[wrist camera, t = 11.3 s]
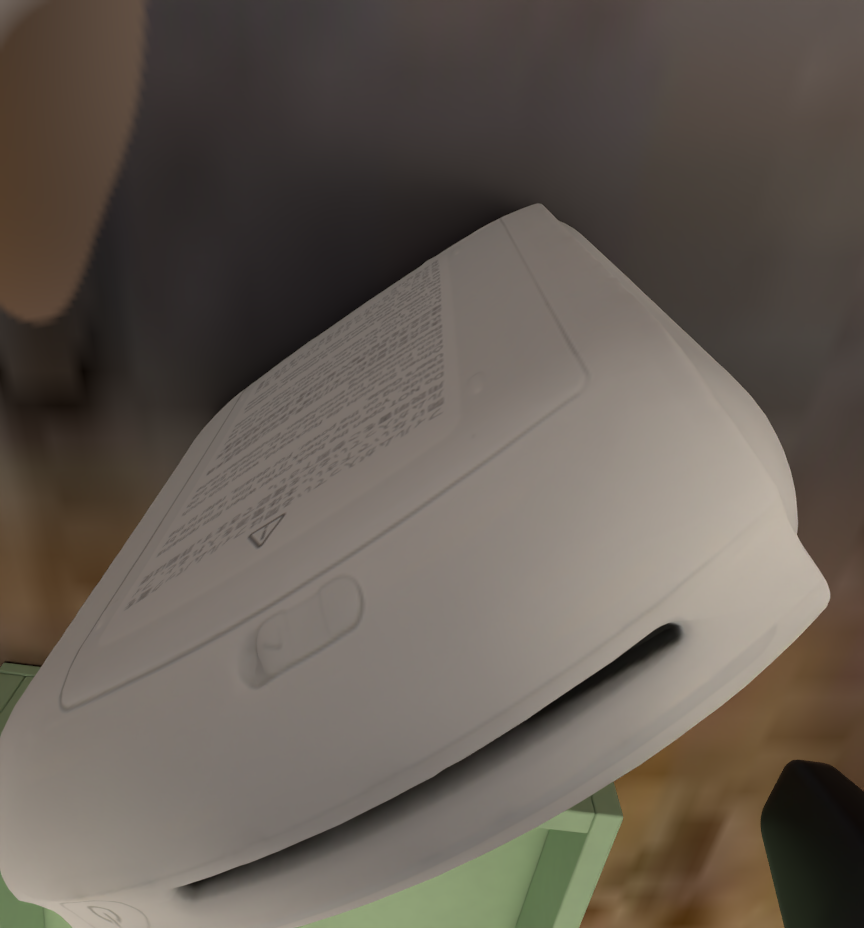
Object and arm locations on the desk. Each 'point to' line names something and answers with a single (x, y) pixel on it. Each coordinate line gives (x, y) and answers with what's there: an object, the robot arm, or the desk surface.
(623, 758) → the white rounded tower
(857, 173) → the desk surface
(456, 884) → the tray
